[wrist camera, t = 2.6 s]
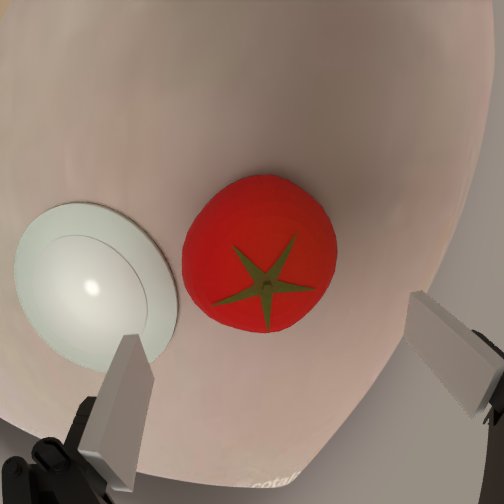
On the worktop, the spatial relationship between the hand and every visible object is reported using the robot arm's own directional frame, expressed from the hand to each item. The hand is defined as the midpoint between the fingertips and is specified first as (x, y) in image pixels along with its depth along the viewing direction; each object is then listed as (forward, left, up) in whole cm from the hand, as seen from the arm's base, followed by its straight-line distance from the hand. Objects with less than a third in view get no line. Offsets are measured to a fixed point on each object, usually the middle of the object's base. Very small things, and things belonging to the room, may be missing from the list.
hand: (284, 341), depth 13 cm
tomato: (0, 0, -16) cm, 16 cm away
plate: (+4, -18, -16) cm, 24 cm away
